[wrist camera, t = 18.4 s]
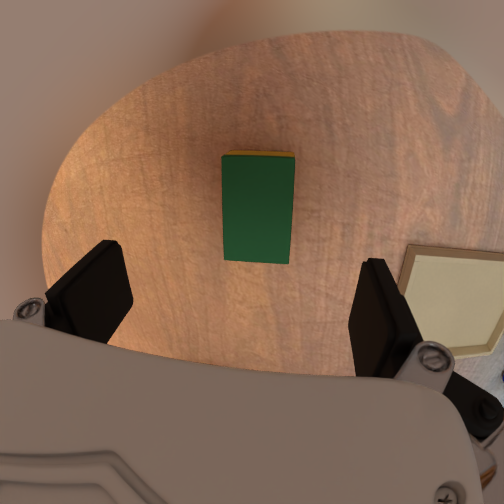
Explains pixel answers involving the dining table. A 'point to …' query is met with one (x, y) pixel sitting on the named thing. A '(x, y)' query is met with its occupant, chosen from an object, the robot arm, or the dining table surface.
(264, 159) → the sponge
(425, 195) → the dining table surface
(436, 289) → the tray
